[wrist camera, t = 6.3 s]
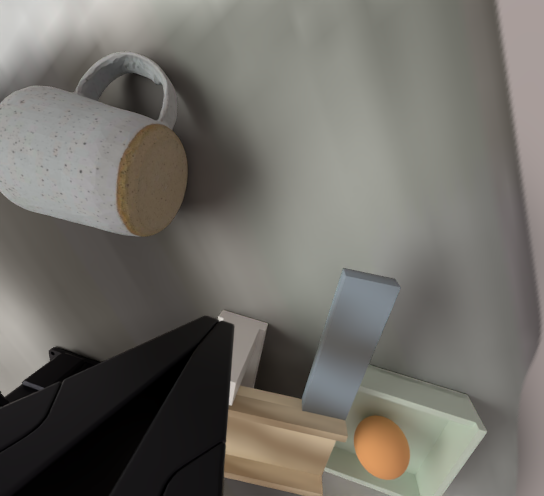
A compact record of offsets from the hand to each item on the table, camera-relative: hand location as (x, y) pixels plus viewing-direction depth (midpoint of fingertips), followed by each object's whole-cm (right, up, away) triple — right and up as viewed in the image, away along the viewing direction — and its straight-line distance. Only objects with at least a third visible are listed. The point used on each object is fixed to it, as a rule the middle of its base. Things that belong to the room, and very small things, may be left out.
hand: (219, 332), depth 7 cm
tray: (+11, -12, +16) cm, 23 cm away
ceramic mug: (-8, +10, +13) cm, 18 cm away
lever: (0, -5, +14) cm, 15 cm away
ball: (+10, -13, +14) cm, 21 cm away
